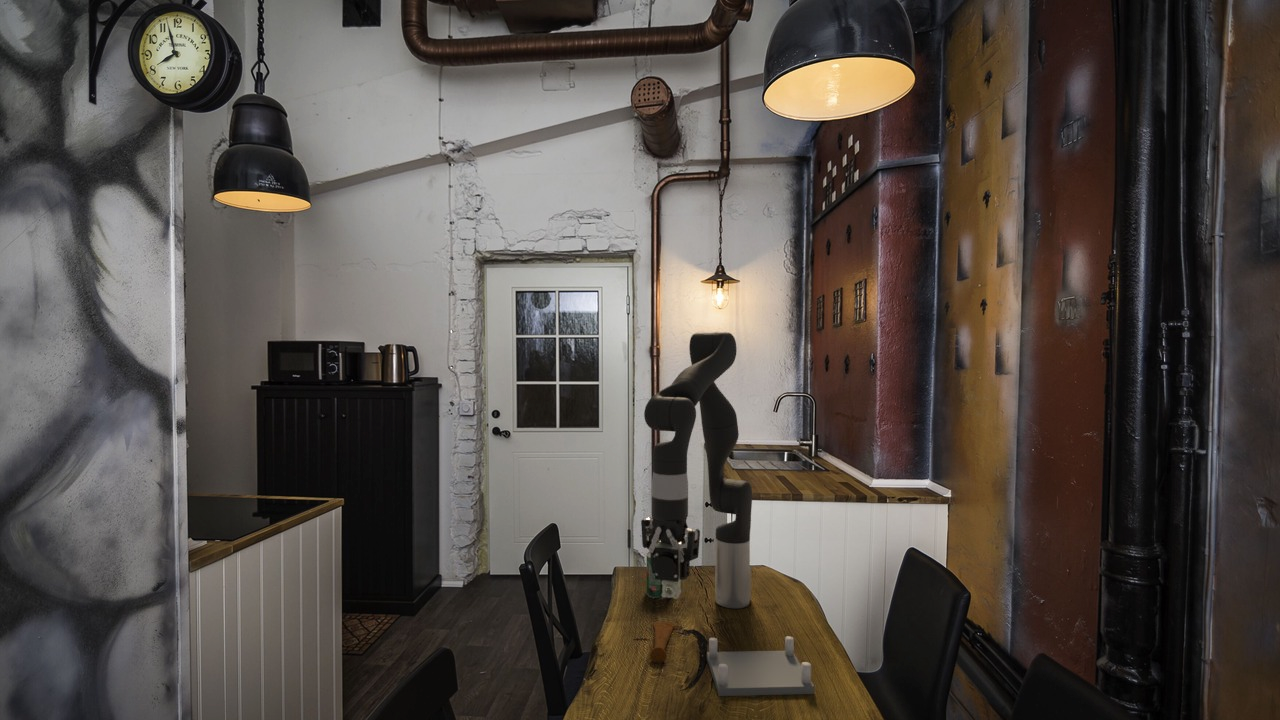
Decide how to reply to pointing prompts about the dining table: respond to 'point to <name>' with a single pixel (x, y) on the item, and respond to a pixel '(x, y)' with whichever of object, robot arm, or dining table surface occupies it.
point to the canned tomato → (653, 582)
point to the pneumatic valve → (667, 568)
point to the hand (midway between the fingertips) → (669, 574)
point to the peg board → (759, 671)
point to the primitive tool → (661, 640)
